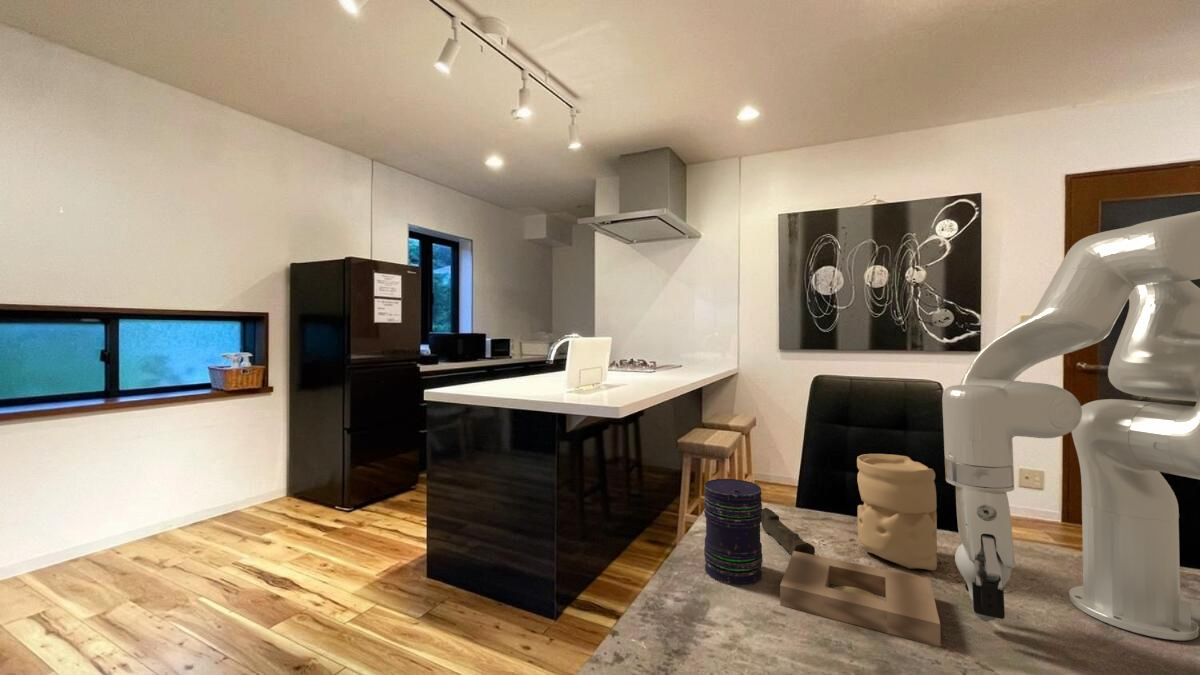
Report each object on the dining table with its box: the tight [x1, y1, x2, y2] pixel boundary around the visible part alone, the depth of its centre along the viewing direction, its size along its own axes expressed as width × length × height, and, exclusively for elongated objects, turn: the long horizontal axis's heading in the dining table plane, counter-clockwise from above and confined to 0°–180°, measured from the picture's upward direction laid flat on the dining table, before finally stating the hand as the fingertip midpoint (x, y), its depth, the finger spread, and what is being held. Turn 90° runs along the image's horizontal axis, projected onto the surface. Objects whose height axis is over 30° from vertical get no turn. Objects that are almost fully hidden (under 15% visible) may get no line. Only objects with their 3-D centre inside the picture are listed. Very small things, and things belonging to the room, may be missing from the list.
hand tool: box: [760, 507, 816, 556], centre depth 95 cm, size 19×4×5 cm, turn 2°
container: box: [856, 453, 938, 572], centre depth 88 cm, size 13×13×18 cm
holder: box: [779, 551, 942, 648], centre depth 73 cm, size 20×14×3 cm
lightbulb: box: [954, 543, 1012, 623], centre depth 66 cm, size 6×6×11 cm
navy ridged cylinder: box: [703, 478, 763, 587], centre depth 83 cm, size 10×10×15 cm
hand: (983, 602), depth 66 cm, fingers closed on lightbulb, 5 cm apart
